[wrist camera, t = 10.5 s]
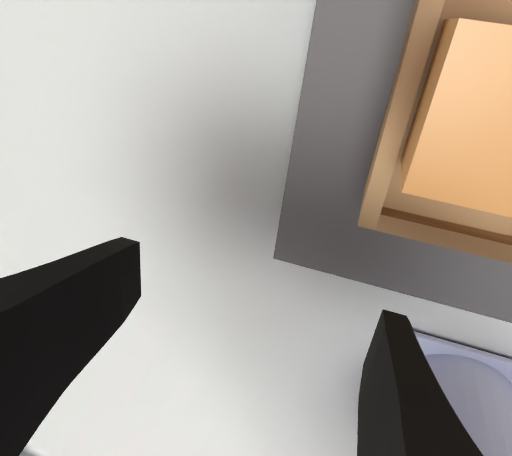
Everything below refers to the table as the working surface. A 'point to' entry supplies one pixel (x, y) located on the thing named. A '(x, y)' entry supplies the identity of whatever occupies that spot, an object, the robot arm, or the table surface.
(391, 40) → the dock
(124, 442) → the table surface
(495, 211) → the light brown block
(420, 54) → the pallet
